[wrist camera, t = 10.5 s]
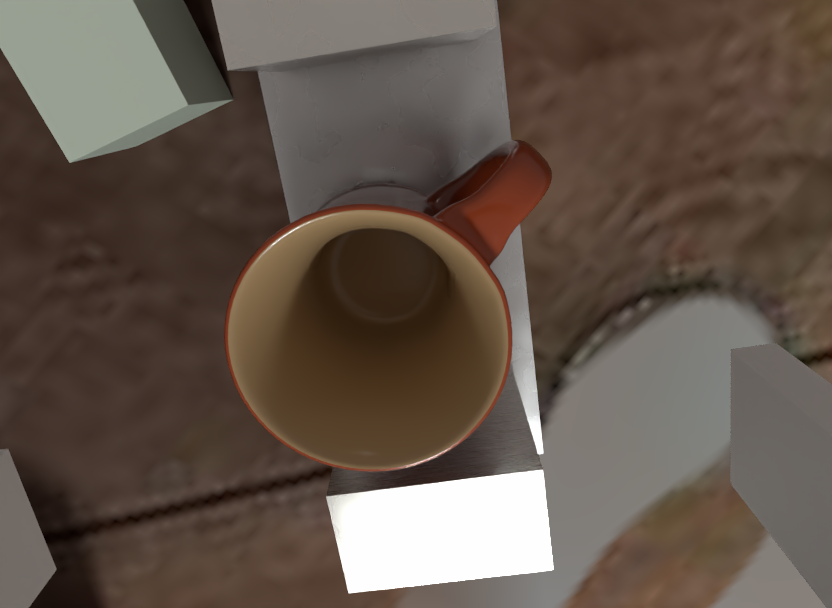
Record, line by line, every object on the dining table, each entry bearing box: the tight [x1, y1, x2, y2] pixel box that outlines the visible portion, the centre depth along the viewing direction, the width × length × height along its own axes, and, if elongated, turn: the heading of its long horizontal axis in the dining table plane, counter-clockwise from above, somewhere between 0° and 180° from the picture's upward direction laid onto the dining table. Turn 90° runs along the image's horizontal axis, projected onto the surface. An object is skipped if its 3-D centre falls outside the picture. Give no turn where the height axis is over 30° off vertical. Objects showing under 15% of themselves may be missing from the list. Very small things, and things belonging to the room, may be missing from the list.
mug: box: [224, 140, 552, 472], centre depth 24 cm, size 12×9×10 cm
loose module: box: [0, 0, 234, 163], centre depth 25 cm, size 5×7×6 cm
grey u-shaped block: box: [212, 0, 553, 593], centre depth 26 cm, size 10×25×10 cm, turn 9°
